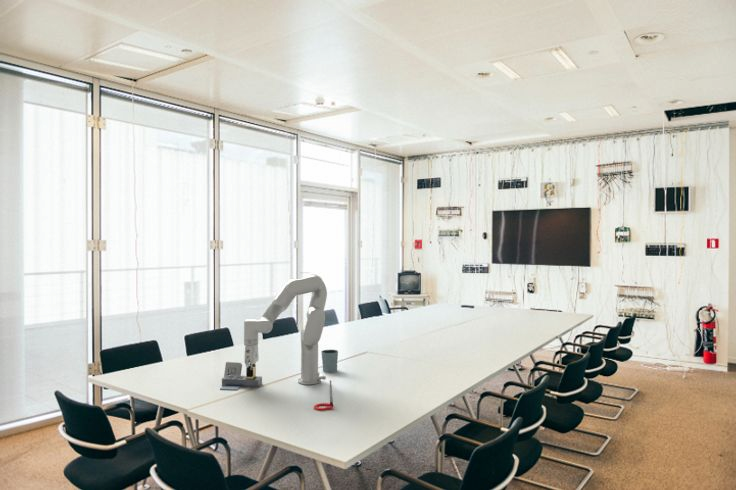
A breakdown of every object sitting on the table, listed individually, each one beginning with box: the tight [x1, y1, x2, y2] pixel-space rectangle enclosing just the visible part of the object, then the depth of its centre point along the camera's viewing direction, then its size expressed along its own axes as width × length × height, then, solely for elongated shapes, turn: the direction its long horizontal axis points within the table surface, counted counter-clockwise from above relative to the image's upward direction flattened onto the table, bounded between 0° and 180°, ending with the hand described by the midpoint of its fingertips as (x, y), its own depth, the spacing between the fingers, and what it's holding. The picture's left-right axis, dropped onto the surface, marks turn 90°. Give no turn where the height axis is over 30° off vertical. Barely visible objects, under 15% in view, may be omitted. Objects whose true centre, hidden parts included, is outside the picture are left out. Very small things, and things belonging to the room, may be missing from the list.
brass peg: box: [245, 365, 257, 380], centre depth 267 cm, size 4×4×10 cm
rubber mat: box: [220, 386, 241, 391], centre depth 261 cm, size 9×5×1 cm, turn 84°
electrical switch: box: [223, 361, 243, 378], centre depth 282 cm, size 9×5×9 cm, turn 78°
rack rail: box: [221, 375, 263, 389], centre depth 268 cm, size 20×7×4 cm, turn 84°
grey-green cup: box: [321, 349, 339, 374], centre depth 298 cm, size 10×10×12 cm
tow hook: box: [313, 380, 334, 411], centre depth 232 cm, size 8×13×9 cm
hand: (251, 375), depth 267 cm, fingers closed on brass peg, 4 cm apart
